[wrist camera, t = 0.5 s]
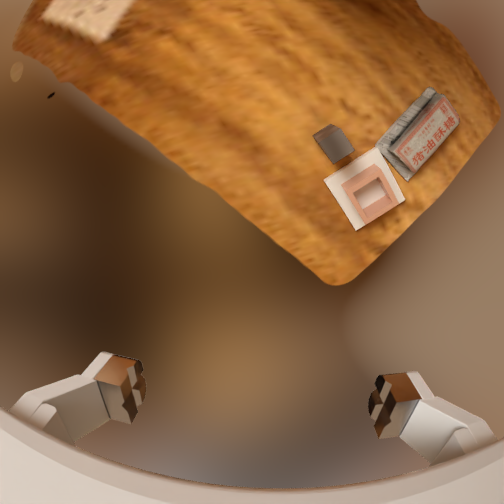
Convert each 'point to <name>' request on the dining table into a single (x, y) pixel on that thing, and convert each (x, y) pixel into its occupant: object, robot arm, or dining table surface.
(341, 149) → the peg
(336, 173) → the square socket base
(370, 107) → the dining table surface
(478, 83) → the dining table surface
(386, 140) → the packaged product
